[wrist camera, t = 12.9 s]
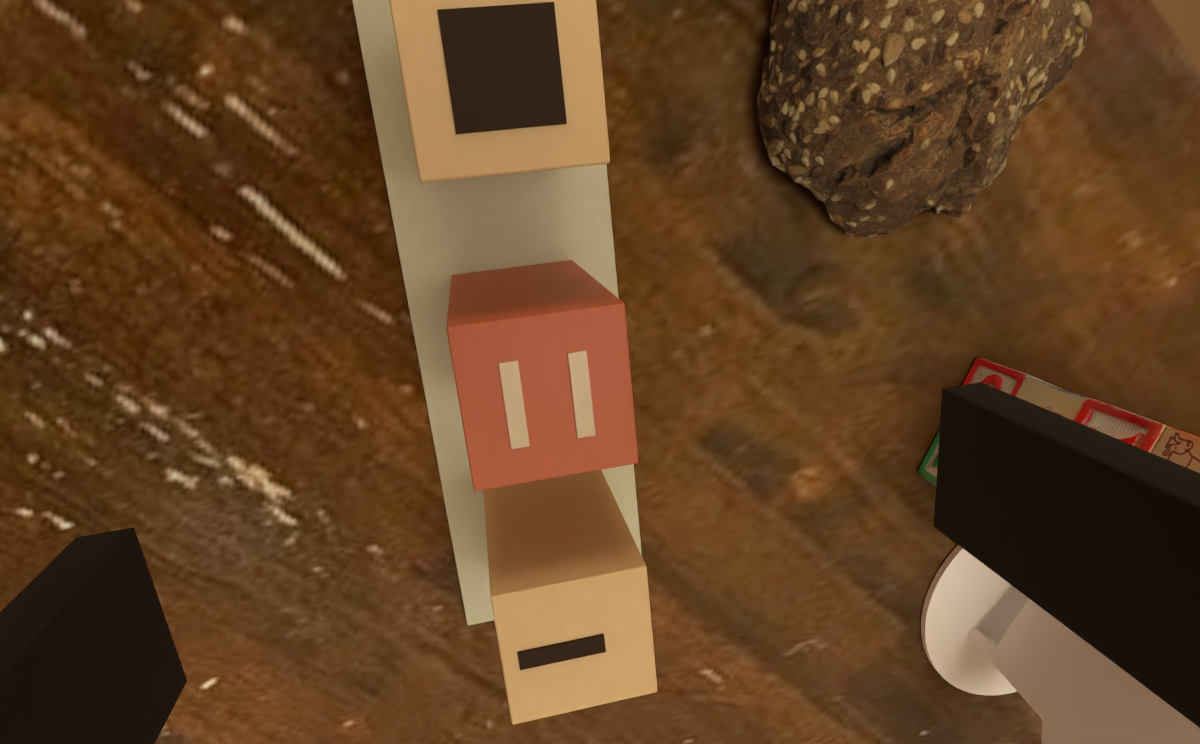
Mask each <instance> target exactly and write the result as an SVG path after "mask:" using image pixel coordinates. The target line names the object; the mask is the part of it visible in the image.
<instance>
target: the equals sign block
mask: <svg viewBox="0 0 1200 744" xmlns="http://www.w3.org/2000/svg"><path fill="white" fill-rule="evenodd" d="M446 329H447V335H448V341H449V347H450V353H451V359H452V365H453V371H454V376H455V382H456V388H457V394H458V400H459V406H460V412H461V418H462V424H463V430H464V436H465V441H466V447H467V453H468V459H469V465H470V471H471V477H472V483H473V489H474V491H481V490H486V489H492V488H498V487H504V486H509V485H515V484H521V483H527V482H532V481H538V480H544V479H550V478H556V477H561V476H567V475H573V474H579V473H584V472H590V471H596V470H602V469H607V468H613V467H619V466H625V465H630V464H636V463H638V462H639V461H638V449H637V438H636V427H635V415H634V404H633V392H632V381H631V370H630V358H629V347H628V336H627V324H626V313H625V304H624V303H623V302H622V301H621V300H620V299H618V298H617V297H616V296H615V295H614V294H612V293H611V292H610V291H609V290H608V289H606V288H605V287H604V286H603V285H602V284H600V283H599V282H598V281H597V280H596V279H594V278H593V277H592V276H591V275H590V274H588V273H587V272H586V271H585V270H584V269H582V268H581V267H580V266H579V265H578V264H576V263H575V262H574V261H573V260H567V261H559V262H551V263H543V264H535V265H527V266H519V267H512V268H504V269H496V270H488V271H480V272H472V273H464V274H456V275H452V277H451V287H450V297H449V308H448V318H447V328H446Z"/></svg>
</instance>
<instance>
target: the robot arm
mask: <svg viewBox="0 0 1200 744" xmlns="http://www.w3.org/2000/svg"><path fill="white" fill-rule="evenodd" d="M934 527H936V528H937V529H938V530H939V531H941V532H942V533H943V534H945V535H946V536H947V537H949V538H950V539H951V540H953V541H954V542H955V543H957V544H958V545H959V546H961V547H962V548H963V549H965V550H966V551H967V552H968V553H970V554H971V555H972V556H974V557H975V558H976V559H978V560H979V561H980V562H982V563H983V564H984V565H986V566H987V567H988V568H990V569H991V570H992V571H994V572H995V573H996V574H997V575H999V576H1000V577H1001V578H1003V579H1004V580H1005V581H1007V582H1008V583H1009V584H1011V585H1012V586H1013V587H1015V588H1016V589H1017V590H1019V591H1020V592H1021V593H1023V594H1024V595H1025V596H1026V597H1028V598H1029V599H1030V600H1032V601H1033V602H1034V603H1036V604H1037V605H1038V606H1040V607H1041V608H1042V609H1044V610H1045V611H1046V612H1048V613H1049V614H1050V615H1052V616H1053V617H1054V618H1055V619H1057V620H1058V621H1059V622H1061V623H1062V624H1063V625H1065V626H1066V627H1067V628H1069V629H1070V630H1071V631H1073V632H1074V633H1075V634H1077V635H1078V636H1079V637H1081V638H1082V639H1083V640H1084V641H1086V642H1087V643H1088V644H1090V645H1091V646H1092V647H1094V648H1095V649H1096V650H1098V651H1099V652H1100V653H1102V654H1103V655H1104V656H1106V657H1107V658H1108V659H1110V660H1111V661H1112V662H1113V663H1115V664H1116V665H1117V666H1119V667H1120V668H1121V669H1123V670H1124V671H1125V672H1127V673H1128V674H1129V675H1131V676H1132V677H1133V678H1135V679H1136V680H1137V681H1139V682H1140V683H1141V684H1142V685H1144V686H1145V687H1146V688H1148V689H1149V690H1150V691H1152V692H1153V693H1154V694H1156V695H1157V696H1158V697H1160V698H1161V699H1162V700H1164V701H1165V702H1166V703H1168V704H1169V705H1170V706H1171V707H1173V708H1174V709H1175V710H1177V711H1178V712H1179V713H1181V714H1182V715H1183V716H1185V717H1186V718H1187V719H1189V720H1190V721H1191V722H1193V723H1194V724H1195V725H1197V726H1198V727H1199V728H1200V473H1198V472H1196V471H1193V470H1191V469H1188V468H1186V467H1184V466H1181V465H1179V464H1176V463H1174V462H1172V461H1169V460H1167V459H1164V458H1162V457H1160V456H1157V455H1155V454H1152V453H1150V452H1148V451H1145V450H1143V449H1140V448H1138V447H1136V446H1133V445H1131V444H1128V443H1126V442H1124V441H1121V440H1119V439H1116V438H1114V437H1112V436H1109V435H1107V434H1104V433H1102V432H1100V431H1097V430H1095V429H1092V428H1090V427H1088V426H1085V425H1083V424H1080V423H1078V422H1076V421H1073V420H1071V419H1068V418H1066V417H1064V416H1061V415H1059V414H1056V413H1054V412H1052V411H1049V410H1047V409H1044V408H1042V407H1040V406H1037V405H1035V404H1032V403H1030V402H1028V401H1025V400H1023V399H1020V398H1018V397H1016V396H1013V395H1011V394H1008V393H1006V392H1004V391H1001V390H999V389H996V388H994V387H991V386H989V385H987V384H984V383H982V382H978V383H972V384H967V385H961V386H955V387H949V388H943V389H942V401H941V417H940V433H939V450H938V466H937V482H936V499H935V515H934ZM186 682H187V679H186V677H185V674H184V671H183V668H182V665H181V662H180V659H179V656H178V653H177V651H176V648H175V645H174V642H173V639H172V636H171V633H170V630H169V627H168V625H167V622H166V619H165V616H164V613H163V610H162V607H161V604H160V601H159V599H158V596H157V593H156V590H155V587H154V584H153V581H152V578H151V575H150V573H149V570H148V567H147V564H146V561H145V558H144V555H143V552H142V549H141V547H140V544H139V541H138V538H137V535H136V532H135V529H134V528H129V529H123V530H117V531H111V532H105V533H100V534H94V535H88V536H82V537H76V538H75V539H74V540H73V541H72V542H71V543H70V544H69V545H68V546H67V547H66V548H65V549H64V550H63V551H62V552H61V553H60V554H59V555H58V556H57V557H56V558H55V559H54V560H53V561H52V562H51V563H50V564H49V565H48V566H47V567H46V568H45V569H44V570H43V571H42V572H41V573H40V574H39V575H38V576H37V577H36V578H35V579H34V580H33V581H32V582H31V583H30V584H29V585H28V586H27V587H26V588H25V589H24V590H23V591H22V592H21V593H20V594H19V595H17V596H16V597H15V598H14V599H13V600H12V601H11V602H10V603H9V604H8V605H7V606H6V607H5V608H4V609H3V610H2V611H1V612H0V744H154V743H155V742H156V740H157V738H158V736H159V734H160V732H161V730H162V728H163V726H164V724H165V722H166V720H167V718H168V716H169V715H170V713H171V711H172V709H173V707H174V705H175V703H176V701H177V699H178V697H179V695H180V693H181V691H182V689H183V688H184V686H185V684H186Z"/></svg>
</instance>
